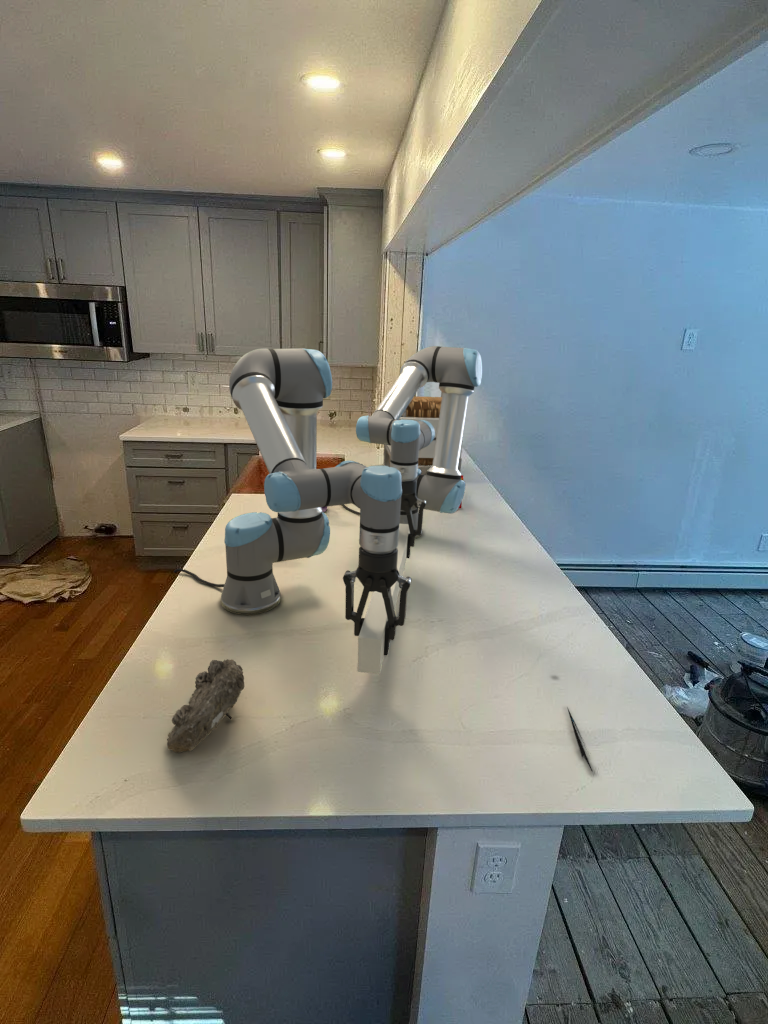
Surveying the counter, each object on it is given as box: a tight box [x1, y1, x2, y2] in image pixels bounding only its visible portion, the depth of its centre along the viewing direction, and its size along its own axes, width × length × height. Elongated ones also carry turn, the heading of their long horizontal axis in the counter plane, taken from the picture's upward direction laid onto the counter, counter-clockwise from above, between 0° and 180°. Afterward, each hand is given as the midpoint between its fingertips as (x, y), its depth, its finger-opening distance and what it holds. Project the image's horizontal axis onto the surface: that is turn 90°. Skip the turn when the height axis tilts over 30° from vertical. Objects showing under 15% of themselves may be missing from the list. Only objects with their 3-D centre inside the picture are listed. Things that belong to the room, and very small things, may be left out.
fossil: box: [166, 658, 245, 754], centre depth 106 cm, size 22×10×15 cm
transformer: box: [382, 391, 465, 474], centre depth 268 cm, size 34×33×41 cm
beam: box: [356, 524, 410, 675], centre depth 139 cm, size 63×4×8 cm, turn 173°
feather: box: [554, 675, 593, 772], centre depth 111 cm, size 2×28×2 cm
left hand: (373, 650), depth 117 cm, fingers closed on beam, 4 cm apart
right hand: (399, 555), depth 163 cm, fingers closed on beam, 4 cm apart
